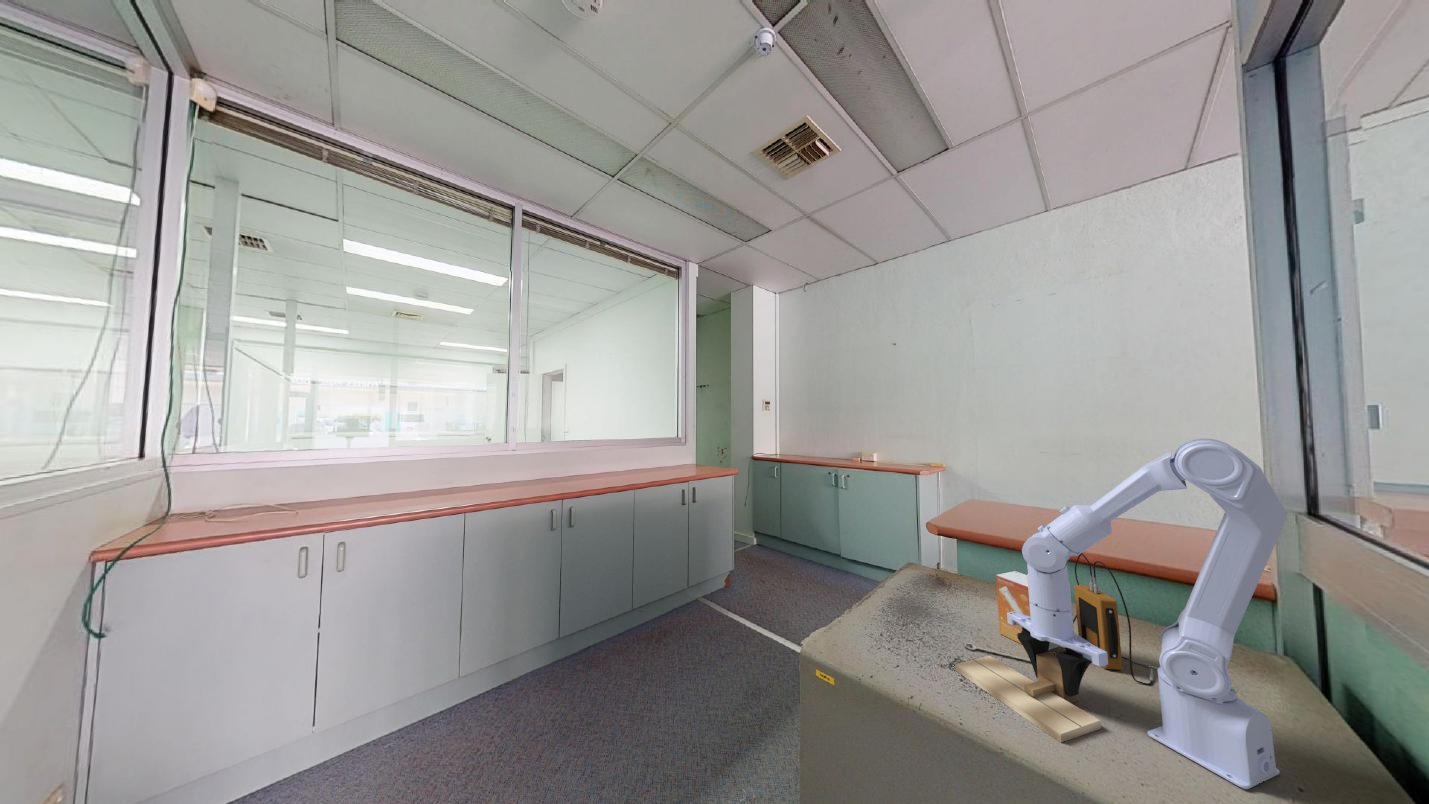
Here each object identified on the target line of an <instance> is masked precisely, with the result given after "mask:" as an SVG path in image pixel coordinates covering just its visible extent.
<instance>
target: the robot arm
mask: <svg viewBox="0 0 1429 804" xmlns="http://www.w3.org/2000/svg"><path fill="white" fill-rule="evenodd" d="M1172 454H1173V452H1172V450H1171V451H1168V452H1166V453H1165V454H1162V455H1160V456H1158V457H1157V458H1155V459H1153V460H1151V461H1148V462H1147V463H1146V464H1144V465H1142V466H1141V467H1140V468H1139V469H1137V470H1136V471H1135V472H1133V473H1132V474H1130V475H1129V476H1128V477H1127V478H1125V479H1123V481H1121V482H1120V483H1119V484H1117V485H1116V486H1115V487H1114V488H1112V489H1111V490H1109V492H1107V493H1106V494H1104V495H1103V496H1102V497H1100V498H1099V499H1098V500H1097V501H1095V502H1094V503H1093V504H1091V505H1088V504H1074V505H1073V506H1071V507H1070V506H1068V505H1065V506H1064V507H1063V508H1061V509H1060V510H1059V513H1060V514H1061V515H1059V516H1057V517H1056V518H1055V519H1054V520H1052V521H1051V522H1049V523H1047V525H1044V524H1042V525H1040V526H1039V527H1037V530H1038V532H1036V533H1034V534H1032V535H1031V536H1030V537H1028V538H1027V540H1026V541H1025V542H1024V543H1023V546H1022V548H1021V553H1022V557H1023V559H1024V561H1025V562H1026V563H1027V564H1026V568H1027V574H1026V575H1027V578H1028V591H1029V604H1030V617H1029V616H1026V615H1023V614H1020V613H1018V612H1015V611H1013V612H1009V613H1007V621H1008V623H1009V624H1011V625H1017V626H1019V627H1021V628H1022V631H1021V633H1018V634H1017V638H1018V640H1019V641H1020V642H1021V644H1020V645H1022V647H1023V649H1024V650H1025V652H1026V654H1027V656H1028V659H1029V661H1030V663H1031V665H1032V668H1033V671H1034V674H1035V678H1036V679H1038V674H1037V661H1036V655H1037V654H1040V653H1044V652H1050V650H1049V644H1050V642H1051V643H1054V644H1057V645H1059V647H1061V648H1064V650H1062V651H1058V652H1055V655H1056V657H1057V659H1058V661H1059V664H1060V667H1061V671H1062V676H1063V686H1064V690H1065V694H1066V695H1068V696H1070V697H1071V696H1075V695H1077V696H1078V695H1079V693H1080V687H1081V684H1082V683H1081V682H1082V679H1083V677H1084V676H1085V675H1084V674H1085V672H1086V671H1087V669H1088V667H1090V665H1091V663H1092V664H1093V665H1094V666H1096V667H1099V668H1101V667H1102V666H1105V665H1108V656H1107V652H1106V651H1104V650H1102V649H1100V648H1098V647H1096V646H1094V645H1093V644H1091V643H1089V642H1088V641H1086V640H1085V639H1083V638H1081V637H1080V636H1079V635H1078V633H1075V630H1074V629H1075V627H1074V624H1073V620H1074V617H1073V605H1072V596H1071V595H1072V593H1071V582H1070V580H1069V575H1068V574H1069V573H1068V572H1069V571H1068V564H1067V562H1069V560H1070V559H1071V557H1077V556H1079V555H1080V554H1081V553H1084V552H1085V551H1087V550H1088V549H1090V548H1092V547H1093V546H1094V545H1096V544H1098V543H1099V542H1101V541H1102V540H1103V539H1105V538H1107V537H1108V536H1110V535H1111V534H1112V532H1113V529H1112V521H1113V520H1115V519H1117V518H1118V517H1120V516H1121V515H1123V514H1124V513H1126V512H1128V511H1129V510H1131V509H1132V508H1134V507H1136V506H1137V505H1140V504H1141V503H1142V502H1144V501H1146V500H1147V499H1149V498H1150V497H1152V496H1153V495H1155V494H1157V493H1158V492H1162V491H1163V492H1165V491H1174V490H1175V491H1176V490H1177V491H1178V490H1186V489H1188V487H1187V483H1186V481H1187V482H1189V483H1190V484H1192V485H1193V486H1195V487H1197V488H1199V489H1200V490H1201V491H1204V492H1206V493H1207V494H1209V497H1211V499H1213V501H1215V503H1216V504H1217V505H1218V506H1219V507H1220V508H1221V509H1222V510H1223V512H1224V513H1223V516H1222V518H1221V521H1220V523H1219V526H1218V528H1217V530H1216V533H1215V535H1214V538H1213V540H1212V542H1211V545H1210V547H1209V550H1208V552H1207V554H1206V557H1205V559H1204V562H1203V564H1202V566H1201V569H1200V571H1199V573H1198V576H1197V578H1196V580H1195V584H1194V585H1193V587H1192V591H1191V593H1190V595H1189V597H1188V600H1187V601H1186V604H1185V607H1184V608H1183V610H1182V611H1181V612H1180V613H1179V614H1178V615H1179V616H1178V618H1177V620H1176V621H1175V622H1174V623H1173V624H1171V625H1169V626H1166V627H1165V628H1163V629H1162V631H1161V633H1160V635H1159V639H1160V641H1159V642H1160V644H1161V645H1160V646H1161V653H1160V654H1159V661H1158V662H1159V667H1157V668H1158V669H1157V678H1158V687H1159V688H1158V690H1159V699H1160V700H1159V701H1160V710H1161V721H1162V725H1161V726H1158V727H1156V728H1153V729H1151V730H1148V731H1147V736H1149V737H1150V738H1152V739H1154V740H1155V741H1157V742H1160V743H1161V744H1163V745H1164V746H1166V747H1168V748H1170V749H1172V750H1173V751H1175V752H1177V753H1178V754H1180V755H1182V756H1184V757H1185V758H1187V759H1189V760H1191V761H1193V762H1195V763H1197V764H1198V765H1200V766H1202V767H1204V768H1206V769H1207V770H1209V771H1211V772H1212V773H1215V774H1216V775H1218V776H1219V777H1221V778H1223V779H1225V780H1227V781H1228V782H1231V784H1234V785H1236V787H1237V786H1238V787H1239V788H1241V789H1243V790H1249V789H1251V788H1253V787H1255V786H1257V785H1259V783H1260V784H1261V783H1263V781H1264V782H1265V781H1268V780H1270V779H1272V778H1274V777H1275V776H1278V775H1279V774H1280V773H1281V772H1280V769H1279V768H1277V766H1276V756H1275V746H1274V737H1273V730H1272V726H1271V721H1270V720H1269V718H1268V716H1267V715H1266V714H1265V713H1264V712H1262V711H1261V710H1259V709H1256V708H1255V707H1254V706H1251V705H1249V704H1248V703H1246V702H1245V701H1243V700H1242V699H1241V698H1240V697H1238V696H1237V695H1238V694H1237V691H1236V689H1235V688H1234V687H1233V685H1232V678H1231V675H1230V672H1229V670H1228V666H1229V662H1230V661H1231V658H1232V653H1233V646H1234V640H1235V636H1236V634H1237V630H1238V629H1239V626H1240V624H1241V622H1242V619H1243V617H1244V615H1245V613H1246V611H1247V608H1248V607H1249V604H1250V601H1251V600H1252V597H1253V595H1254V593H1255V590H1256V589H1257V586H1258V584H1259V582H1260V579H1261V577H1262V575H1263V572H1264V570H1265V568H1266V565H1267V564H1268V562H1269V559H1270V557H1271V555H1272V553H1273V551H1274V549H1275V546H1276V544H1277V541H1278V539H1279V537H1280V534H1281V532H1282V530H1283V528H1284V526H1285V523H1286V521H1287V519H1288V518H1287V517H1288V512H1287V510H1286V508H1285V507H1284V505H1283V504H1282V502H1281V500H1280V499H1279V497H1278V494H1277V493H1276V492H1275V490H1274V489H1273V487H1272V485H1271V484H1270V482H1269V481H1268V479H1267V477H1266V475H1265V473H1264V471H1263V469H1262V467H1260V465H1258V464H1257V463H1256V462H1255V461H1253V460H1252V459H1251V458H1249V456H1246V454H1244V453H1243V452H1241V450H1239V449H1237V448H1236V447H1234V446H1232V445H1231V444H1229V443H1227V442H1225V441H1222V440H1218V439H1214V438H1195V439H1191V440H1188V441H1185V442H1183V443H1182V444H1180V445H1179V446H1178V447H1177V449H1175V452H1174V455H1173V458H1172Z"/></svg>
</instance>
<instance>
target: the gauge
mask: <svg viewBox="0 0 1429 804" xmlns="http://www.w3.org/2000/svg"><path fill="white" fill-rule="evenodd" d="M1036 661H1037V674H1038V678H1037V681H1034V683H1030V684H1027V685H1024V690H1025V692H1026V693H1028V694H1029V695H1031V696H1033V697H1034V696H1038V695H1041V694H1044V693H1048V692H1052V693H1054V694H1056V695H1058V696H1059V697H1061V698H1063V699H1064V700H1066V701H1068V702H1070V703H1071V704H1073V703H1075V702H1078V695H1075V696H1071V697H1070V696H1068V695H1066V694H1065V690H1064V686H1063V676H1062V671H1061V667H1060V664H1059V661H1058V659H1057V657H1056V653H1055V654H1054V653H1053V652H1050V651H1048V652H1044V653H1040V654H1037V655H1036Z"/></svg>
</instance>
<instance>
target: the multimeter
mask: <svg viewBox="0 0 1429 804" xmlns="http://www.w3.org/2000/svg"><path fill="white" fill-rule="evenodd" d="M1077 556H1078V557H1077V558H1076V561H1075V564H1074V576H1075V581H1076V583H1077V584H1074V598H1075V599H1074V600H1075V601H1074V602H1075V611H1076V614H1075V616H1074V617H1073V625H1075V621H1076V622H1077V623H1076V624H1077V632H1078V633H1077V635H1078V636H1080V637H1081V638H1083V639H1085V640H1086V641H1088V642H1089V643H1091V644H1093V645H1094V646H1096V647H1098V648H1100V649H1102V650H1104V651H1106V652H1107V656H1108V665H1105V666H1101V667H1102V669H1105V670H1117V671H1122V670H1123V660H1122V659H1125V660H1128V661H1129V670H1130V674H1131V677H1132V679H1133V680H1134V681H1135V682H1137V683H1138V684H1142V685H1144V686H1151V685H1152V684H1153V682H1154V677H1155V673H1154V672H1153V669H1157V670H1158V668H1159V667H1157V666H1154V665H1150V663H1146V662H1143V661H1140V660H1136V659H1134V658H1132V627H1131V620H1130V615H1129V613H1128V608H1127V606H1126V602H1125V599H1124V596H1123V593H1122V591H1121V588H1120V587H1119V583H1118V582H1117V580H1116V578H1115V576H1114V574H1113V573H1112V571H1111V569H1110V568H1109V567H1108V566H1107V565H1106V564H1105V563H1103V562H1102V561H1098V560H1096V561H1095V562H1094V563H1093V570H1092V565H1091V563H1090V560H1089V559H1088V558H1087V557H1086V555H1084V552H1082V553H1081V554H1079V555H1077ZM1081 556H1082V557H1083V558H1084V559H1085V560H1086V562H1087V563H1088V567H1089V574H1090V575H1089V585H1084V584H1083V585H1080V583H1079V580H1078V575H1077V565H1078V562H1079V560H1080V557H1081ZM1098 563H1099V564H1101V565H1103V566H1104V567H1105V569H1106V570H1107V571H1108V572H1109V575H1111V578H1112V579H1113V581H1114V584H1115V586H1116V587H1117V589H1118V592H1119V595H1120V598H1121V600H1122V604H1123V607H1124V611H1125V614H1126V618H1127V625H1128V634H1129V635H1128V638H1129V639H1128V645H1129V647H1128V650H1129V651H1128V654H1129V656H1128V657H1129V658H1127V657H1125V656H1122V647H1121V645H1122V644H1121V635H1120V624H1119V623H1120V622H1119V611H1118V601H1117V600H1116V599H1115V598H1113V597H1111V596H1109V595H1108V594H1106V593H1104V592H1102V591H1100V590H1099V585H1098V584H1097V573H1096V565H1097V564H1098ZM1132 663H1134V664H1138V665H1141V666H1144V667H1147V668H1150V667H1151V668H1153V669H1150V671H1149V672H1148V673H1149V680H1150V682H1143V681H1140V680H1137V679H1136V678H1135V675H1134V672H1133V665H1132Z"/></svg>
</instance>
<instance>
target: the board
mask: <svg viewBox="0 0 1429 804" xmlns="http://www.w3.org/2000/svg"><path fill="white" fill-rule="evenodd" d="M954 668H955V672H957V673H959V674H960V675H962V677H964V678H966V679H967V680H969V681H970V682H971V683H973V684H974V685H976V686H978V687H979V688H980V689H982V690H984V692H986V693H987V694H989V695H991V696H992V697H994V698H995V699H996V700H998V701H999V702H1001V703H1002V704H1004V705H1006V706H1007V708H1010V709H1011V710H1012V711H1014V712H1015V713H1017V714H1019V715H1020V716H1021V717H1023V718H1024V719H1025V720H1027V721H1029V722H1030V723H1031V724H1033V725H1035V726H1036V727H1037V728H1039V729H1040V730H1042V731H1043V732H1044V733H1046V734H1048V736H1051V737H1052V738H1054V739H1055V740H1056V741H1058V742H1059V743H1061V742H1062V743H1064V741H1065V742H1067V741H1070V740H1073V739H1075V738H1079V737H1081V736H1083V735H1084V736H1085V735H1087V734H1090V733H1092V732H1096V731H1098V730H1101V729H1102V727H1101V726H1102V725H1101V719H1099V718H1097V717H1095V716H1094V715H1092V714H1090V713H1088V712H1086V711H1085V710H1083V709H1082V708H1080V707H1078V706H1076V705H1075V704H1073V703H1070V702H1068V701H1066V700H1064V699H1063V698H1061V697H1059V696H1058V695H1056V694H1054V693H1052V692H1048V693H1044V694H1041V695H1038V696H1034V697H1033V696H1031V695H1029V694H1028V693H1026V692H1025V690H1024V685H1027V684H1030V683H1034V682H1035V681H1034V680H1032V679H1030V678H1028V677H1026V676H1025V675H1023V674H1022V673H1020V672H1018V671H1017V670H1015V669H1013V668H1011V667H1010V666H1008V665H1006V664H1004V663H1003V662H1001V661H1000V660H998V659H996V658H994V657H993V656H991V655H987V656H983V657H977V658H975V659H974V658H973V659H971V660H966V661H962V662H959V663H956V664H955V666H954Z"/></svg>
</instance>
